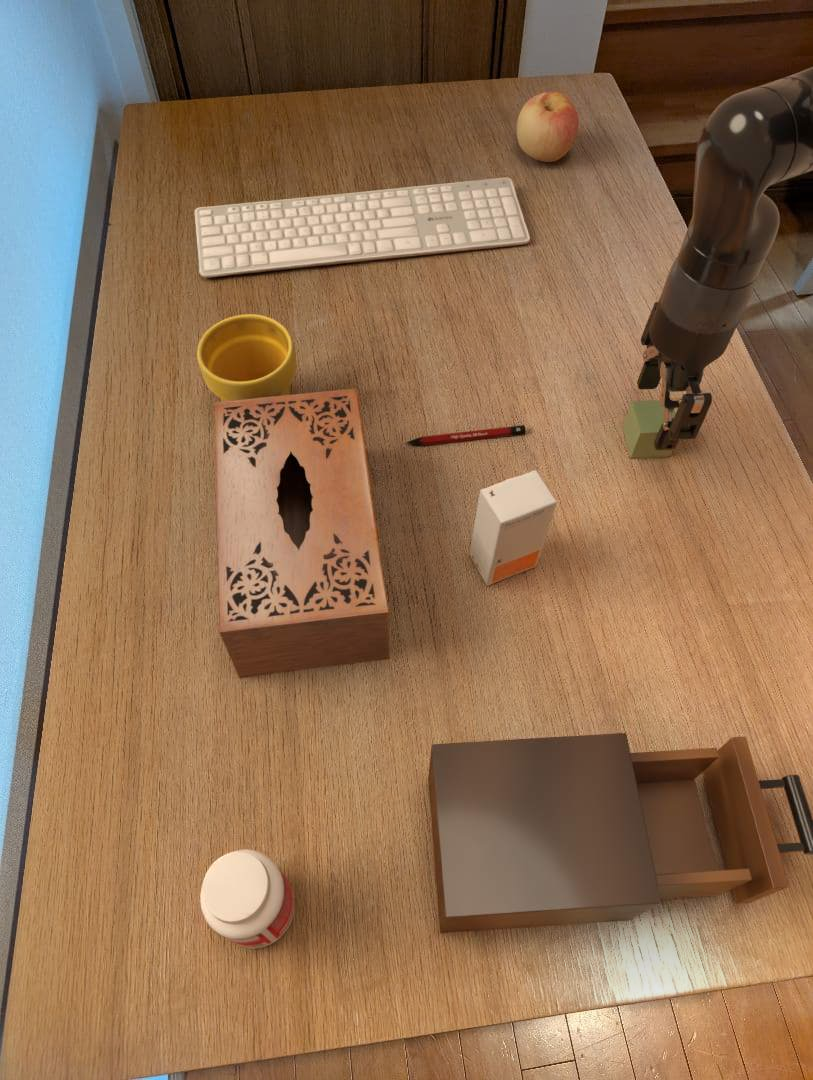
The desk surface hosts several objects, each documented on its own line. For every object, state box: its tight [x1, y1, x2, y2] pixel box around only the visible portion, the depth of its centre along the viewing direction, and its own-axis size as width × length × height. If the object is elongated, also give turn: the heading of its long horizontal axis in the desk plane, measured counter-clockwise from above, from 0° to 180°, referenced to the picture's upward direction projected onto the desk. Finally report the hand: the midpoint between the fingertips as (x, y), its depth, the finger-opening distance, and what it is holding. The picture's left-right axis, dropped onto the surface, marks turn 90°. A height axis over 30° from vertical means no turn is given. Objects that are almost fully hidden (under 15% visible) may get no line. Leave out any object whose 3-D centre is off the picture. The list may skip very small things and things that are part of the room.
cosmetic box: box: [469, 469, 558, 587], centre depth 80 cm, size 6×4×12 cm
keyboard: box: [194, 177, 531, 279], centre depth 111 cm, size 44×12×2 cm, turn 100°
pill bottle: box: [199, 848, 296, 949], centre depth 63 cm, size 6×6×11 cm
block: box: [621, 399, 676, 459], centre depth 91 cm, size 4×4×4 cm
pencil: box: [405, 424, 526, 446], centre depth 93 cm, size 1×14×1 cm, turn 98°
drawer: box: [630, 736, 813, 905], centre depth 66 cm, size 19×11×8 cm, turn 94°
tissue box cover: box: [214, 387, 391, 678], centre depth 81 cm, size 26×14×10 cm, turn 8°
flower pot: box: [196, 313, 297, 402], centre depth 91 cm, size 10×10×10 cm
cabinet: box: [427, 732, 662, 934], centre depth 66 cm, size 16×13×10 cm
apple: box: [516, 91, 580, 163], centre depth 118 cm, size 9×9×8 cm
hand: (654, 416), depth 90 cm, fingers open, 8 cm apart
